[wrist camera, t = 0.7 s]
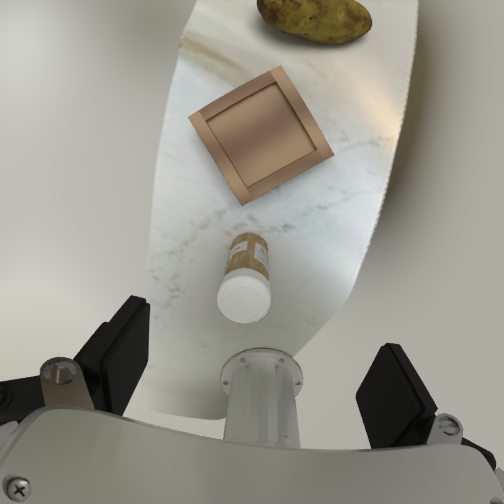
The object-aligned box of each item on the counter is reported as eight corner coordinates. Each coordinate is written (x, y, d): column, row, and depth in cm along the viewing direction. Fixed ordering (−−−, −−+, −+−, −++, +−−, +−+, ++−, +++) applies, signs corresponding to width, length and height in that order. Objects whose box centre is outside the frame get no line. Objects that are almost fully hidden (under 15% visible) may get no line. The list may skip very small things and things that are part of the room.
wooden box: (320, 154, 33) (334, 155, 26) (245, 195, 35) (242, 206, 28) (276, 81, 30) (280, 65, 24) (202, 124, 32) (187, 117, 25)
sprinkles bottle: (230, 232, 36) (213, 276, 24) (268, 231, 36) (271, 276, 23) (232, 267, 38) (218, 325, 25) (268, 267, 38) (271, 325, 25)
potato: (351, 71, 29) (374, 52, 22) (249, 33, 28) (246, 4, 21) (368, 22, 27) (391, -3, 19) (272, -14, 26) (275, -47, 18)
